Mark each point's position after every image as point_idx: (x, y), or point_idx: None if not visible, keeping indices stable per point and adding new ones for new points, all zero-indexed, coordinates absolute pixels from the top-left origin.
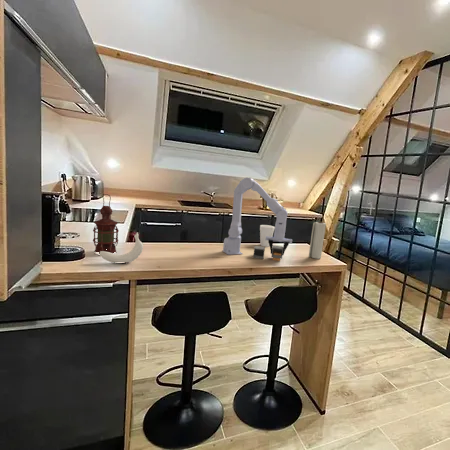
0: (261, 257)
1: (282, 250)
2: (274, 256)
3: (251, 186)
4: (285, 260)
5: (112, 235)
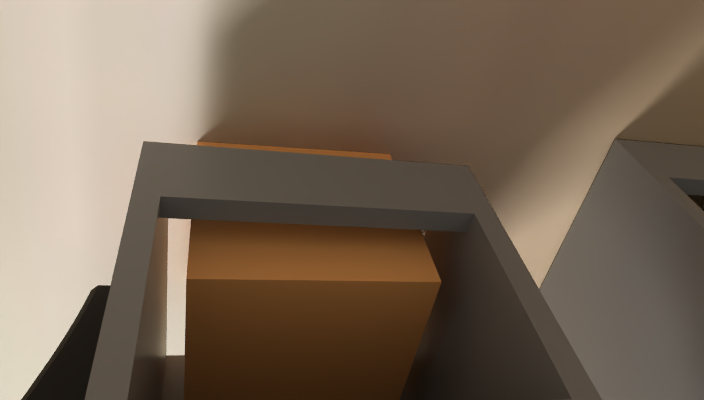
0: (680, 161)
1: (122, 369)
2: (394, 180)
3: None
4: (42, 221)
5: None
